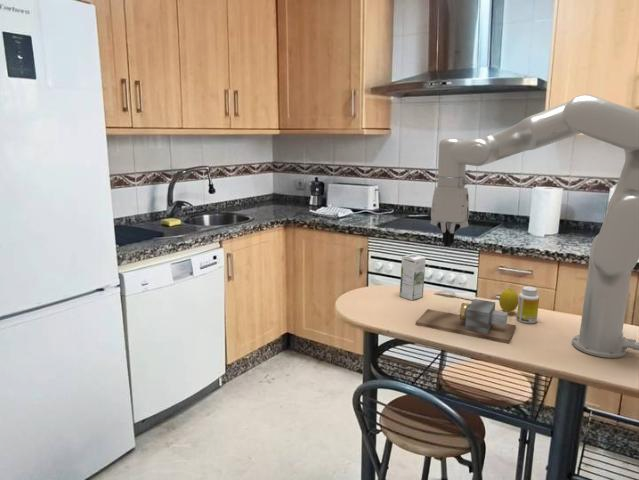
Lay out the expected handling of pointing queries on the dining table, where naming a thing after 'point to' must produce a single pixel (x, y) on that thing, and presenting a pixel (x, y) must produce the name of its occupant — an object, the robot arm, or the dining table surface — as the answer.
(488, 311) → the bearing stand
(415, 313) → the dining table surface
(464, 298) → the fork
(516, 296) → the lemon
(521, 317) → the supplement bottle
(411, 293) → the syrup box
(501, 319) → the shaft
